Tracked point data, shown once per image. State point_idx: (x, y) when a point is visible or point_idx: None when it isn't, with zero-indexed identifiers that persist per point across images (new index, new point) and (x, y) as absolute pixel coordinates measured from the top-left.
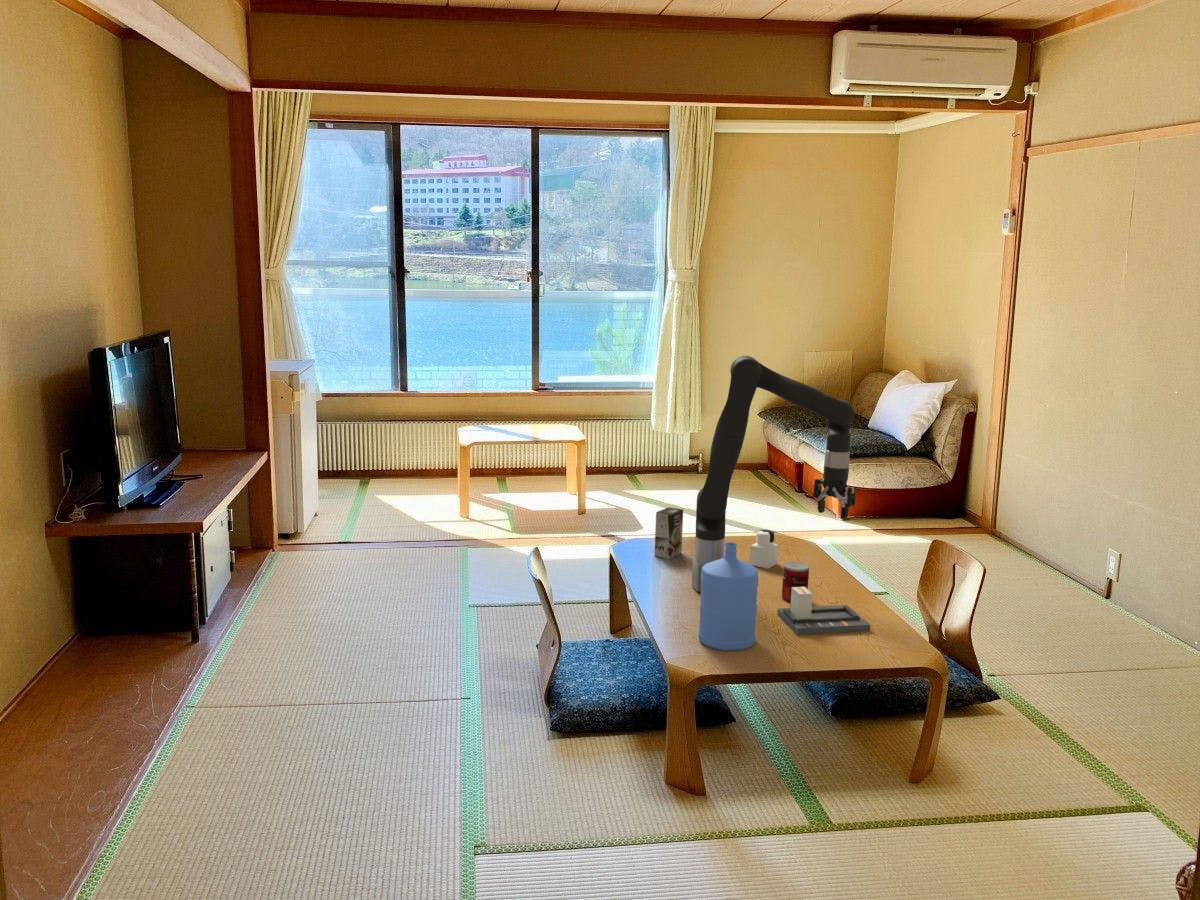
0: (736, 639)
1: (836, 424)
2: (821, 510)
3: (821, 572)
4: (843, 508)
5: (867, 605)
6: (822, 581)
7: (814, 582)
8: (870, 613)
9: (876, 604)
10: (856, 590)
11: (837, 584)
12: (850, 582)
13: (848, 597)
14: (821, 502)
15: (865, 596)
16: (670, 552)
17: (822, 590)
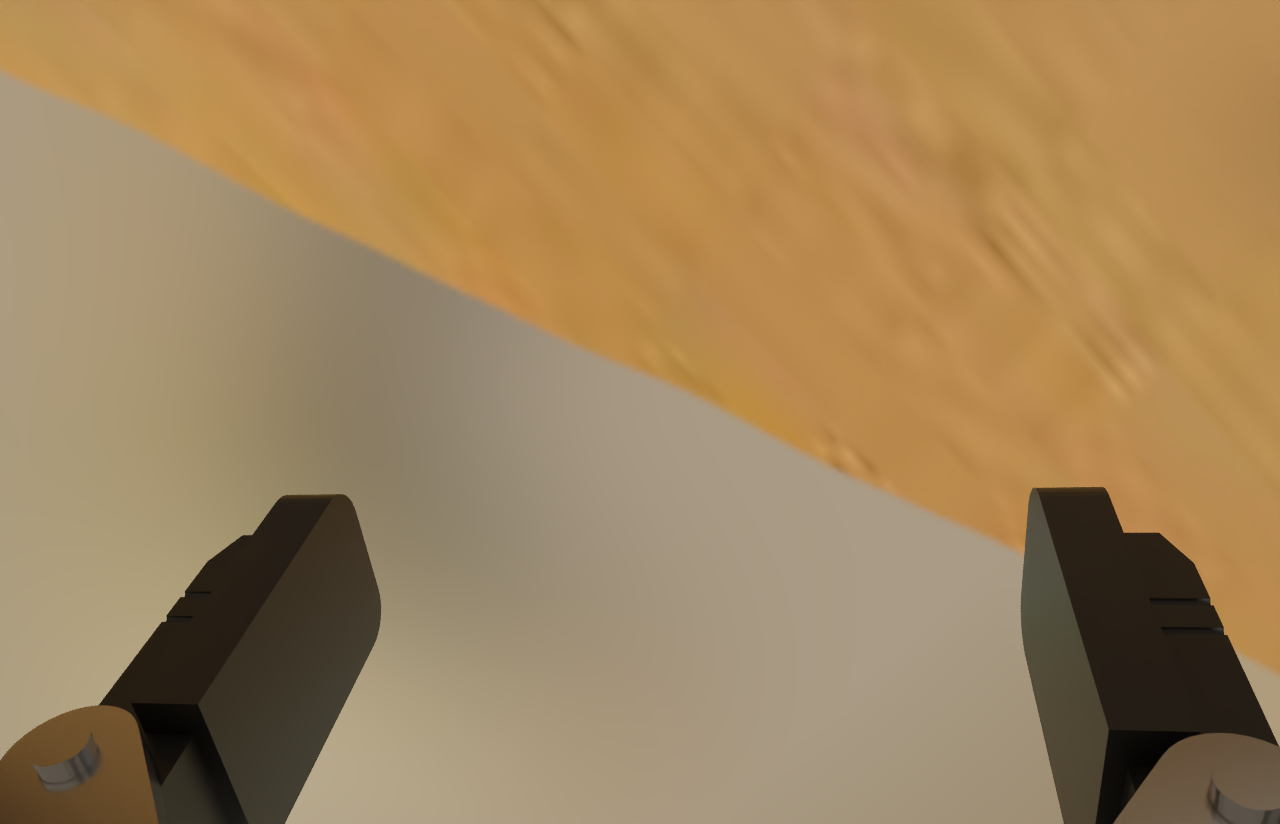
0: None
1: None
2: (1040, 563)
3: (1178, 464)
4: (148, 697)
5: (357, 146)
6: (1019, 294)
7: (1055, 211)
8: (190, 8)
9: (346, 228)
10: (675, 354)
11: (876, 340)
12: (840, 460)
13: (584, 162)
14: (1095, 729)
15: (531, 302)
16: None
17: (854, 101)
